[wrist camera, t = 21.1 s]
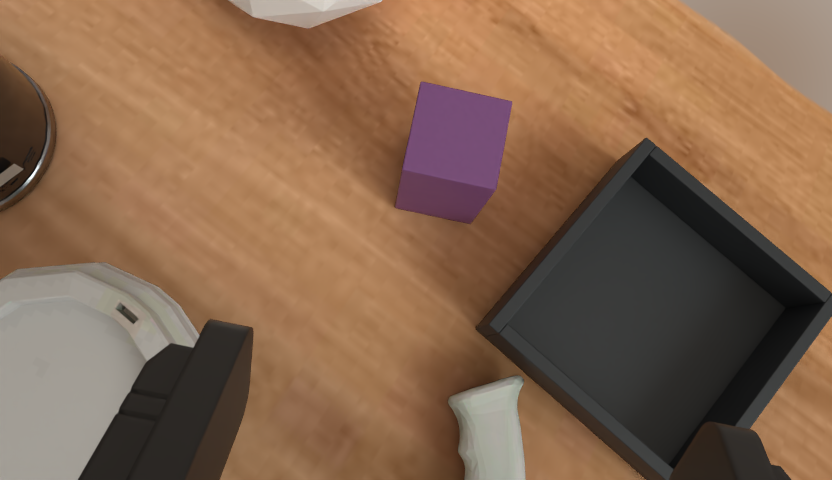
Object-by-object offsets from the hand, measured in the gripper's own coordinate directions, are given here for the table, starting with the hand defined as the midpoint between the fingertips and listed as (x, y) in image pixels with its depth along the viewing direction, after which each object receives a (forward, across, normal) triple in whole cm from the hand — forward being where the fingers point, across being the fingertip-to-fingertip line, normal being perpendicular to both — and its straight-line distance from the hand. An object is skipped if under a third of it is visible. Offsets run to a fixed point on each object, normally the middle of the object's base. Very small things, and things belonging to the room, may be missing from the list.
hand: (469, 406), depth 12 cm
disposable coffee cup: (+17, +12, +21) cm, 30 cm away
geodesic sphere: (+36, +10, +2) cm, 37 cm away
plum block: (+27, 0, +11) cm, 29 cm away
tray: (+23, -13, +15) cm, 30 cm away
